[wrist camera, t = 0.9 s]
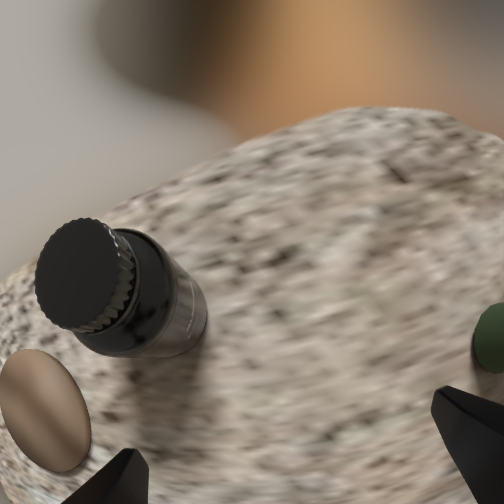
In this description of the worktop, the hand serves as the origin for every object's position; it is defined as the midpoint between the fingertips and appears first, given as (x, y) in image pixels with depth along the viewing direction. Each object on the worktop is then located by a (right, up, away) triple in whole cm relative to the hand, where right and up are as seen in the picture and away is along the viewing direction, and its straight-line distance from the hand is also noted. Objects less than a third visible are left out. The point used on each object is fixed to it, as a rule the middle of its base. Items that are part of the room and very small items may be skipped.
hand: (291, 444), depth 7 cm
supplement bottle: (-8, +1, +15) cm, 17 cm away
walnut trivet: (-21, -9, +12) cm, 26 cm away
